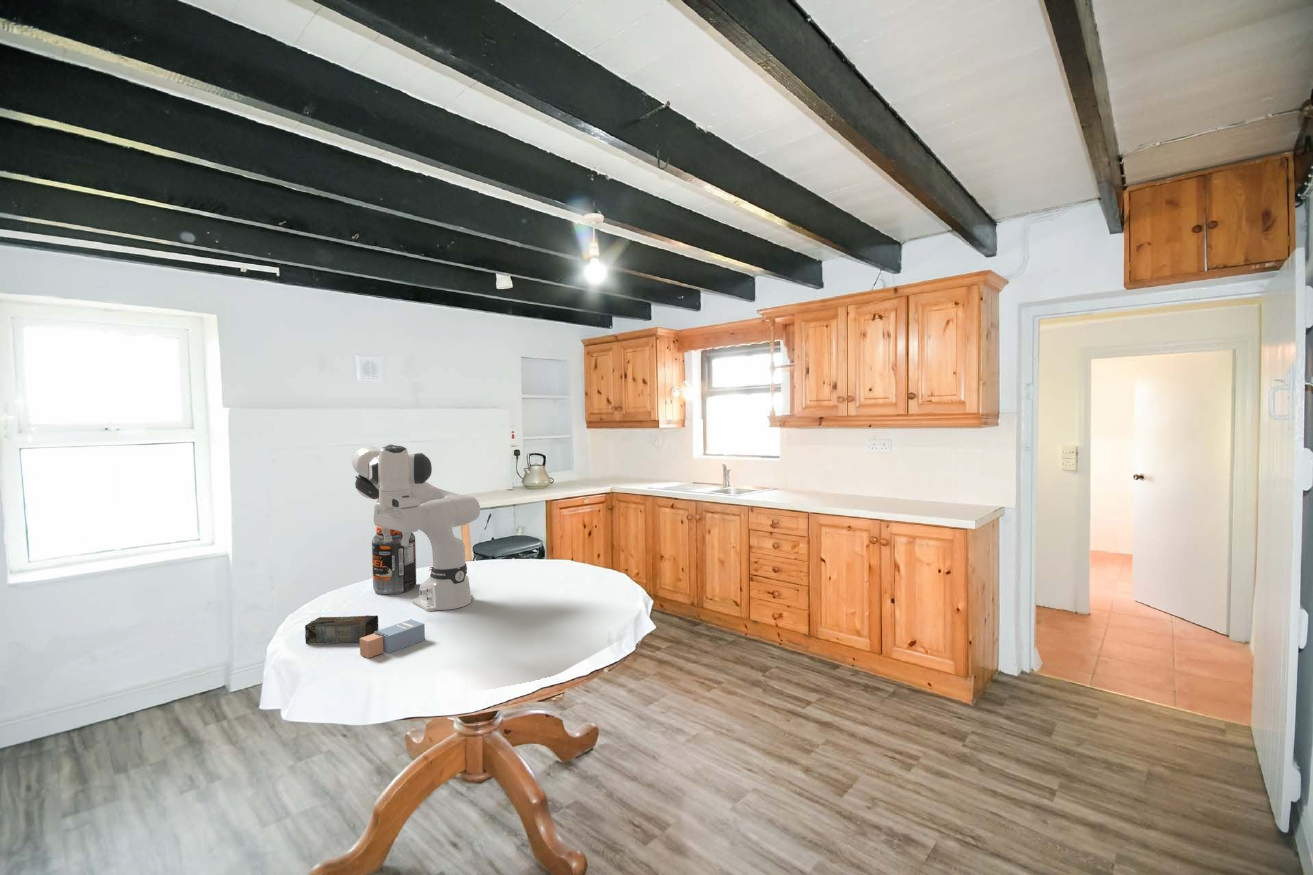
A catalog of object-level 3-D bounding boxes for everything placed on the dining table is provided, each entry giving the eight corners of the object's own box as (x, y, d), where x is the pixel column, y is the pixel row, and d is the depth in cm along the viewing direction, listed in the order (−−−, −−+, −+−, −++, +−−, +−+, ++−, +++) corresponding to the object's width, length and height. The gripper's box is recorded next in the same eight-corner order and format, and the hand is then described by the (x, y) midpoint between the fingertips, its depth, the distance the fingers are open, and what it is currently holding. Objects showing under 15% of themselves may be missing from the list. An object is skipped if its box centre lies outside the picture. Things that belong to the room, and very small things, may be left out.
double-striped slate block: (374, 648, 169) (374, 631, 168) (411, 634, 178) (411, 618, 178) (387, 653, 165) (387, 636, 164) (424, 639, 175) (424, 623, 174)
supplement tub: (365, 590, 224) (363, 525, 223) (403, 581, 237) (401, 519, 236) (386, 598, 215) (384, 530, 214) (424, 587, 227) (422, 523, 226)
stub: (360, 654, 164) (359, 637, 164) (375, 649, 167) (374, 632, 167) (368, 658, 161) (367, 640, 161) (383, 652, 165) (382, 635, 165)
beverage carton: (319, 634, 180) (318, 614, 180) (380, 633, 181) (379, 613, 180) (304, 644, 172) (303, 623, 172) (367, 643, 173) (367, 622, 172)
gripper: (367, 497, 177) (368, 541, 178) (403, 503, 165) (404, 550, 166) (387, 494, 182) (388, 537, 183) (423, 500, 170) (424, 545, 171)
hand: (396, 543), depth 174 cm, fingers open, 8 cm apart
